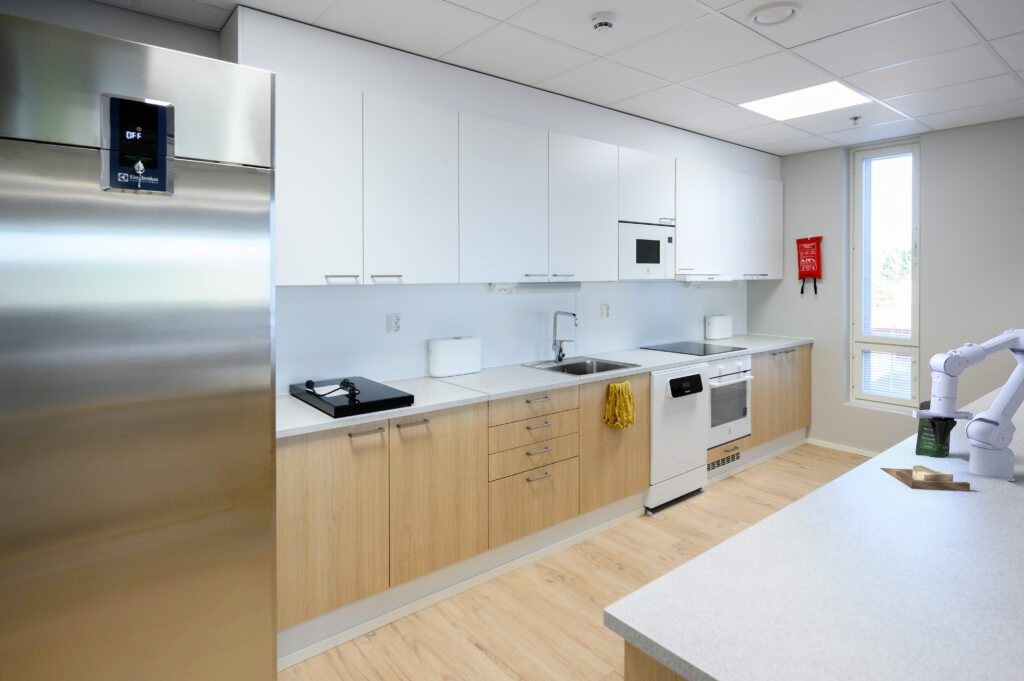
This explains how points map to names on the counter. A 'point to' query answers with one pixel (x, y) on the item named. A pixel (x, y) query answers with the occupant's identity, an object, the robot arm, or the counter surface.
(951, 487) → the board
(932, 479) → the t block
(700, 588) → the counter surface
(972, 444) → the robot arm
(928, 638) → the counter surface
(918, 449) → the coffee jar
